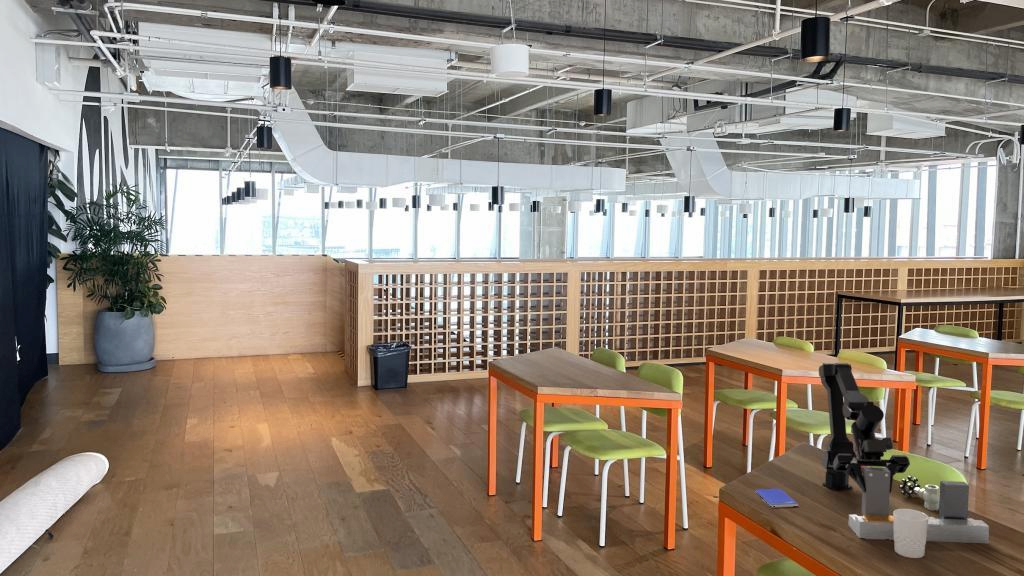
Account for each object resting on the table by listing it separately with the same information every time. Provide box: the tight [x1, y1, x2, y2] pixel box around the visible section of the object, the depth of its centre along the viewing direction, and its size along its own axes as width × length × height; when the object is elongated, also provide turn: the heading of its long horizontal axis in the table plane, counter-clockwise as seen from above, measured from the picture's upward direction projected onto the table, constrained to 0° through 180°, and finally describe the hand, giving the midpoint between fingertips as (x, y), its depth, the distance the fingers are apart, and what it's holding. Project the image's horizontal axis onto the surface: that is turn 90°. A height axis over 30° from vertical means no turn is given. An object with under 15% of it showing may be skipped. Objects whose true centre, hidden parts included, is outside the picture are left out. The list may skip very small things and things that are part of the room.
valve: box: [898, 475, 940, 511], centre depth 227 cm, size 7×7×12 cm
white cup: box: [892, 508, 929, 559], centre depth 194 cm, size 8×8×10 cm
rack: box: [847, 480, 990, 544], centre depth 205 cm, size 10×32×14 cm, turn 83°
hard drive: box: [754, 488, 799, 508], centre depth 232 cm, size 2×8×12 cm
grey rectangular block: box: [861, 466, 891, 516], centre depth 208 cm, size 3×6×13 cm, turn 83°
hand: (877, 492), depth 207 cm, fingers closed on grey rectangular block, 6 cm apart
